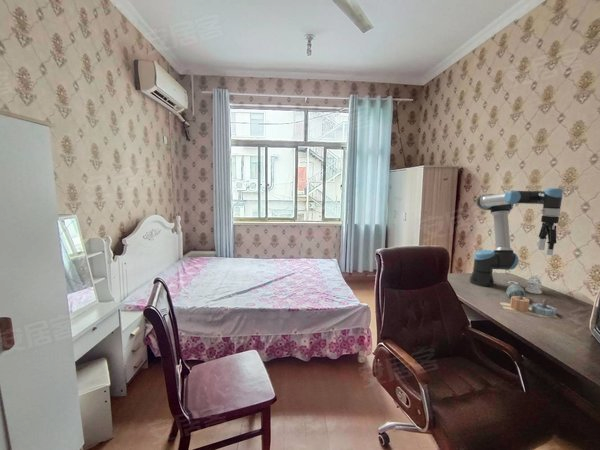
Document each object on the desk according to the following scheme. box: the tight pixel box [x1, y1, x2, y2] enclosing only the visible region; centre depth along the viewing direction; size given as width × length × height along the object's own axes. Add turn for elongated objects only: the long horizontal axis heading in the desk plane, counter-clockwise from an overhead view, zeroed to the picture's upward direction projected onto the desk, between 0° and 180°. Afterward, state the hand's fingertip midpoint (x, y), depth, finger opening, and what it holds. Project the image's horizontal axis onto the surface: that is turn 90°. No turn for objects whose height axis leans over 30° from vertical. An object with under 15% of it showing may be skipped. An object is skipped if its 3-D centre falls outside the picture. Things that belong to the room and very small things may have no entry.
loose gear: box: [509, 296, 531, 312], centre depth 165 cm, size 8×8×6 cm
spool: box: [506, 284, 526, 299], centre depth 182 cm, size 14×10×10 cm
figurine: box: [524, 274, 543, 295], centre depth 195 cm, size 12×9×10 cm
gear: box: [531, 302, 557, 316], centre depth 162 cm, size 10×10×3 cm
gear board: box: [499, 296, 560, 320], centre depth 164 cm, size 14×24×8 cm, turn 67°
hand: (545, 252), depth 170 cm, fingers open, 13 cm apart
